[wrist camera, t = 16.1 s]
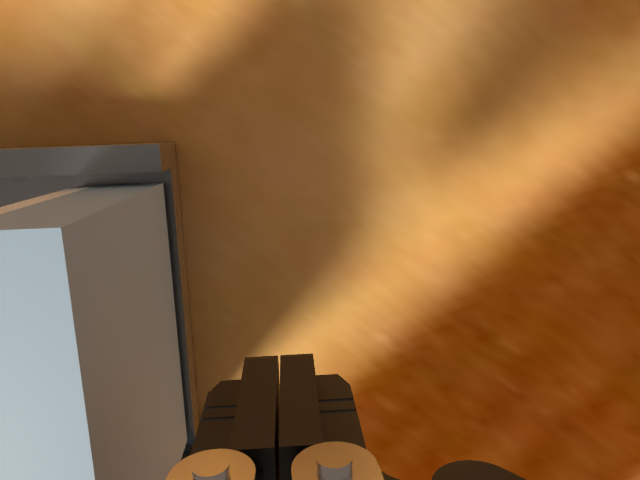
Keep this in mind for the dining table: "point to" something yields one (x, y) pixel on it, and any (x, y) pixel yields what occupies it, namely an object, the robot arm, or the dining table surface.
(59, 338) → the block
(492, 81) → the dining table surface
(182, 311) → the vise
